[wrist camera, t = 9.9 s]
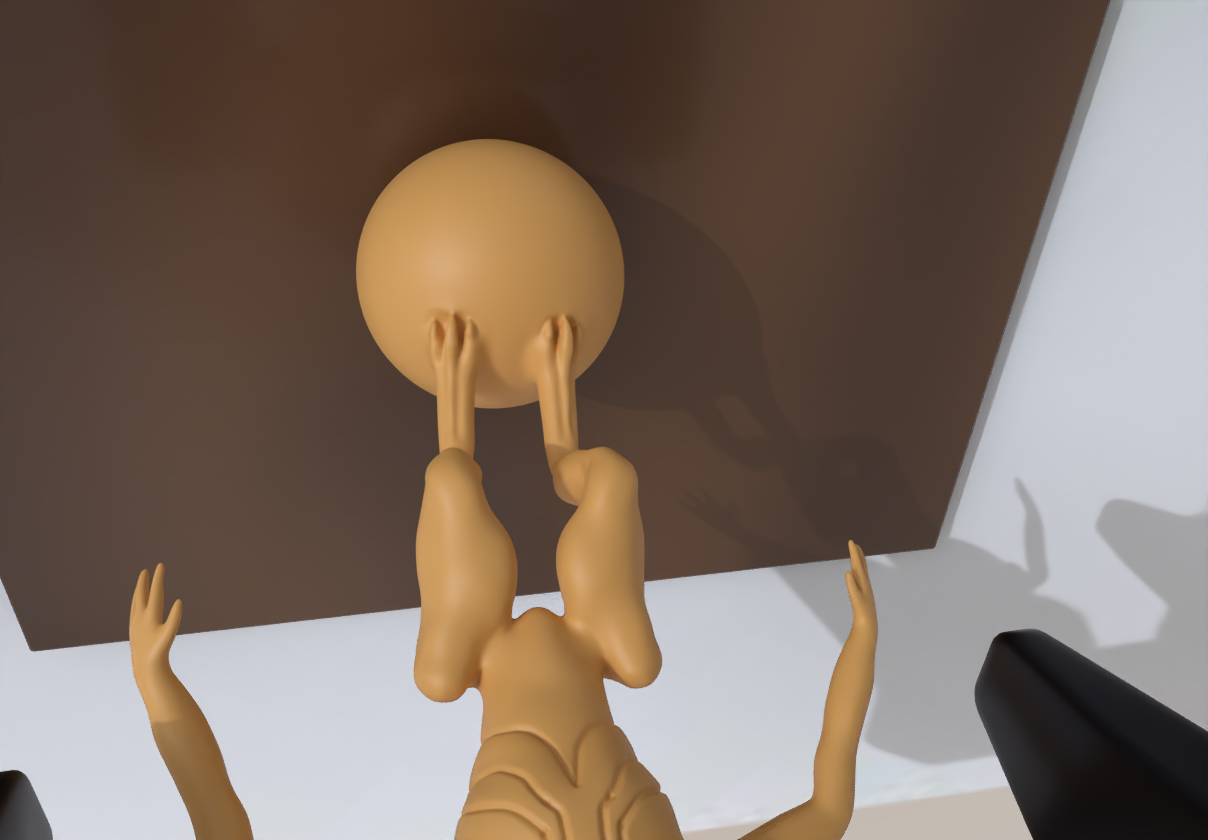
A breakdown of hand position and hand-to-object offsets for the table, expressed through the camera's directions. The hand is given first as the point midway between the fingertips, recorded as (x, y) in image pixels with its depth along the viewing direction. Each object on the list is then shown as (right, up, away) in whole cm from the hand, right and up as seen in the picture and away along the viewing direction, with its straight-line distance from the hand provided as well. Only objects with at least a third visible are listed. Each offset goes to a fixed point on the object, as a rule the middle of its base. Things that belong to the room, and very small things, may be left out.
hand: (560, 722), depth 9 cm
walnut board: (-1, +5, +9) cm, 10 cm away
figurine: (-2, +5, +8) cm, 10 cm away
